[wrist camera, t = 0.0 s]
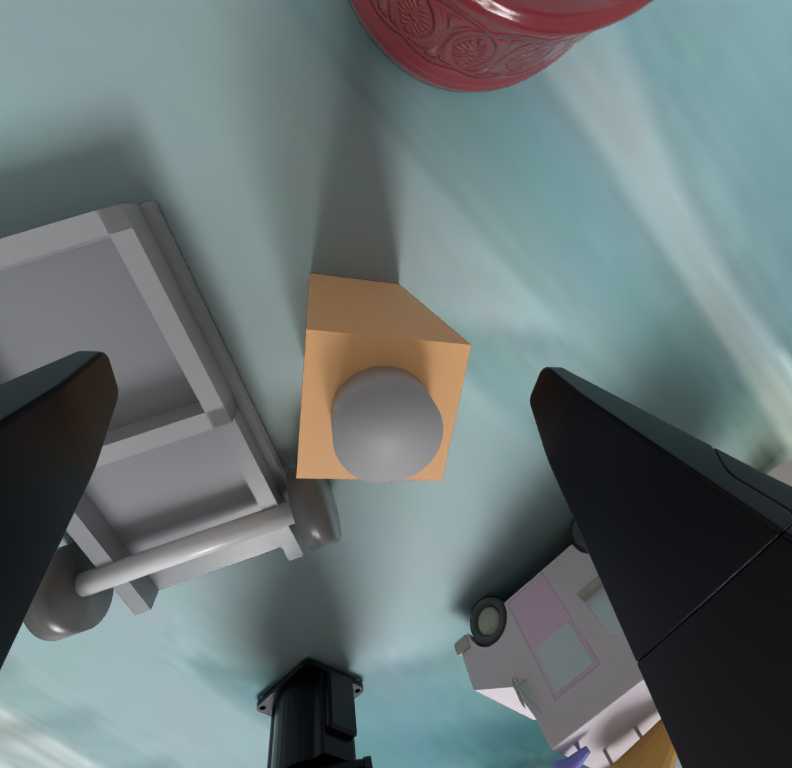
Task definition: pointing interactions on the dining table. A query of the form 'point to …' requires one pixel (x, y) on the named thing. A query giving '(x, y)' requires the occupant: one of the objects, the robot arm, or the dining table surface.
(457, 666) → the dining table surface
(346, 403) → the block with grey dome
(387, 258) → the dining table surface
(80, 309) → the chassis
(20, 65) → the dining table surface
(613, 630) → the toy vehicle
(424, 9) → the canister
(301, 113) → the dining table surface
